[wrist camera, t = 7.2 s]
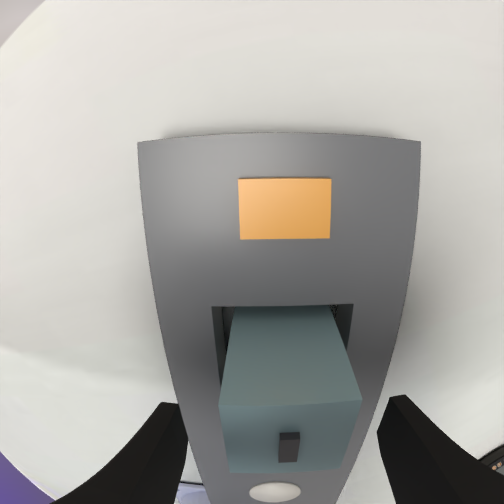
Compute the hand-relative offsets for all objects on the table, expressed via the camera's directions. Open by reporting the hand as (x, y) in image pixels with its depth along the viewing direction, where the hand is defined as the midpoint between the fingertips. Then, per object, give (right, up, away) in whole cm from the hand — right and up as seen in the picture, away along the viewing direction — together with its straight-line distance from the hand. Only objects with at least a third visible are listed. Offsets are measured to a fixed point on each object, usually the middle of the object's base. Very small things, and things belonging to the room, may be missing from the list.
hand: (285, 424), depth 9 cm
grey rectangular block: (0, +2, +6) cm, 6 cm away
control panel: (0, -2, +7) cm, 7 cm away
